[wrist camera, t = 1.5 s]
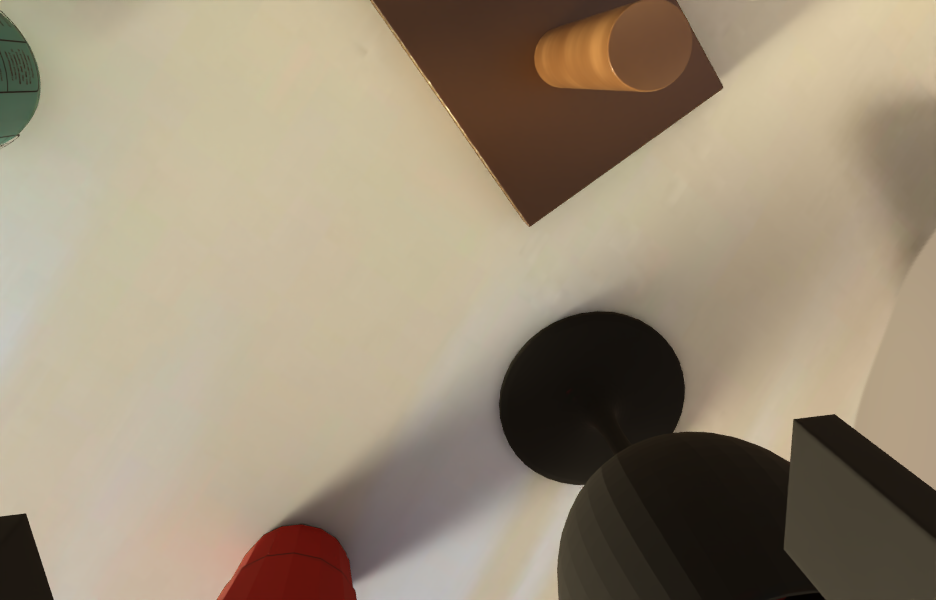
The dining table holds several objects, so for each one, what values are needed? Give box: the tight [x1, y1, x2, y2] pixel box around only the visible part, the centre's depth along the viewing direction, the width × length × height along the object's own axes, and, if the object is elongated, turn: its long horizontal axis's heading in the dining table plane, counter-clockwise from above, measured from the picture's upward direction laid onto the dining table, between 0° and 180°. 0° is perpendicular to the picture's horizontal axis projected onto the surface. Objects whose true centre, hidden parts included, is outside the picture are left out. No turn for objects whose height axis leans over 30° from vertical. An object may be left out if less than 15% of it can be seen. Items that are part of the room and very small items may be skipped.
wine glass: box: [499, 312, 826, 600], centre depth 28 cm, size 10×10×20 cm
